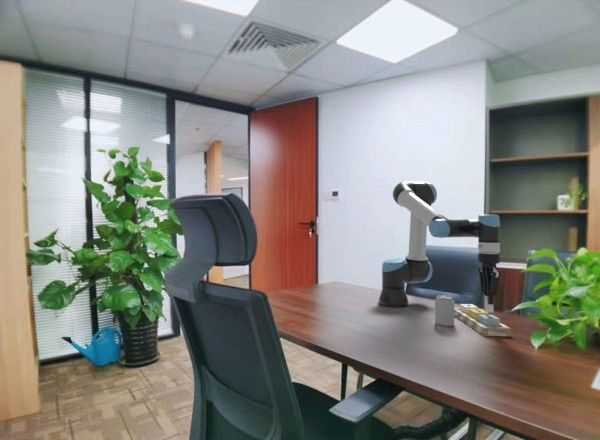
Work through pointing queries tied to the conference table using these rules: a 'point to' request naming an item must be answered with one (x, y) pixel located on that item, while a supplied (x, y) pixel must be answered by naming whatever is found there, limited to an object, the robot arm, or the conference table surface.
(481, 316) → the tile
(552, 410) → the conference table surface
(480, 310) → the tile
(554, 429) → the conference table surface
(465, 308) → the tile
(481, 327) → the frame
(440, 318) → the can
